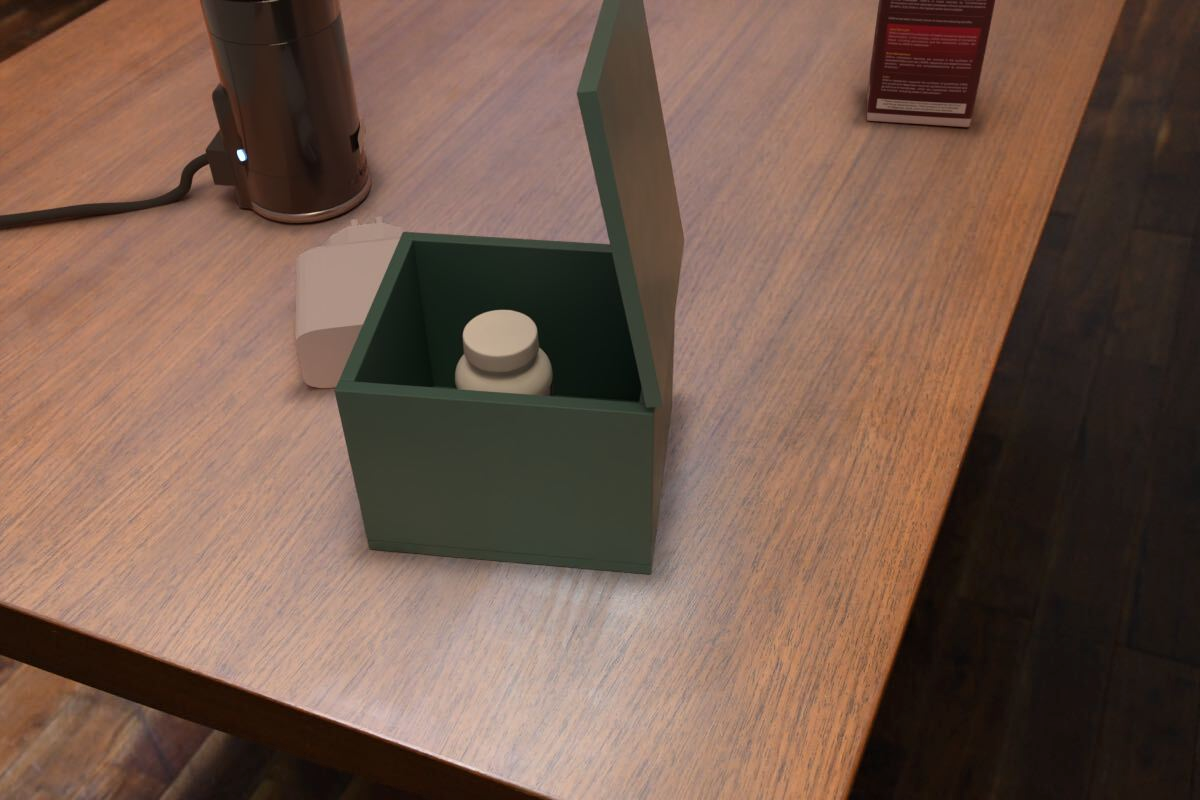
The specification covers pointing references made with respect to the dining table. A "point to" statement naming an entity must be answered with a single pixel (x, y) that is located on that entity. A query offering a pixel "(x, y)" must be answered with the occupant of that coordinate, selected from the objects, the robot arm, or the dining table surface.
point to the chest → (504, 411)
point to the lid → (634, 182)
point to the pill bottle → (503, 356)
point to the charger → (338, 296)
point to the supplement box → (927, 60)
